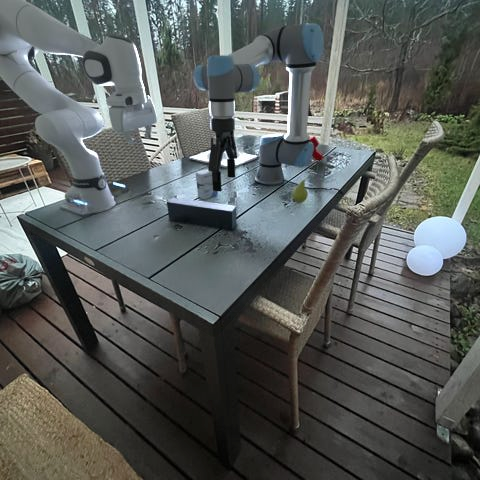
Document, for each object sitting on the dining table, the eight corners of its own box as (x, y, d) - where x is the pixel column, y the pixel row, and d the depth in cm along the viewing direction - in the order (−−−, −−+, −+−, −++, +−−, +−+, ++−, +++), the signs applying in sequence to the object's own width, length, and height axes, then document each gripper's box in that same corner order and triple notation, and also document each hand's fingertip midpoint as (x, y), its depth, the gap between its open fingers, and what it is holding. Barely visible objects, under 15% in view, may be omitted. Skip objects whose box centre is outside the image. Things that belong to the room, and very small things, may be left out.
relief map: (231, 168, 161) (231, 160, 158) (189, 159, 179) (189, 151, 176) (257, 158, 179) (257, 150, 176) (217, 150, 197) (216, 142, 194)
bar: (236, 225, 104) (236, 206, 100) (232, 231, 100) (231, 211, 96) (175, 215, 111) (172, 197, 107) (169, 220, 108) (166, 201, 103)
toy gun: (327, 156, 170) (314, 135, 166) (326, 157, 167) (314, 136, 163) (301, 171, 180) (289, 151, 176) (301, 173, 177) (288, 153, 173)
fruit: (288, 200, 123) (290, 174, 116) (302, 197, 125) (305, 172, 119) (296, 206, 118) (299, 179, 111) (310, 203, 120) (314, 177, 114)
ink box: (211, 191, 132) (209, 167, 125) (218, 194, 129) (216, 170, 122) (197, 196, 127) (194, 172, 120) (204, 199, 124) (201, 174, 117)
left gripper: (142, 94, 97) (149, 134, 105) (101, 100, 81) (113, 147, 89) (157, 94, 96) (164, 135, 103) (119, 101, 79) (129, 149, 87)
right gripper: (225, 110, 93) (227, 171, 105) (192, 123, 73) (199, 195, 85) (246, 111, 91) (245, 173, 103) (218, 124, 71) (221, 198, 83)
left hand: (140, 141), depth 96 cm, fingers open, 8 cm apart
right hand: (224, 183), depth 94 cm, fingers open, 13 cm apart
